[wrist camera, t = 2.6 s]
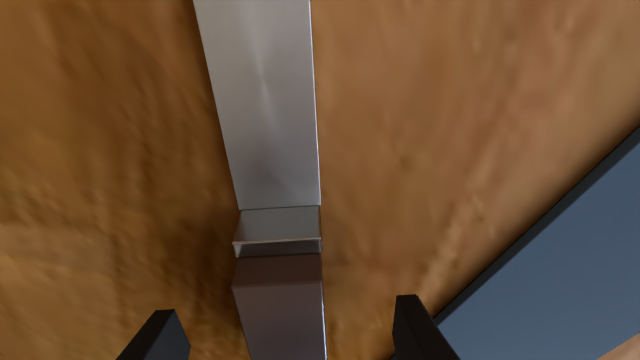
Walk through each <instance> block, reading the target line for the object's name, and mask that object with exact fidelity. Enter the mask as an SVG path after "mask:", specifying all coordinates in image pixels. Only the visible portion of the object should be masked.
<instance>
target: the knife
mask: <svg viewBox="0 0 640 360" xmlns="http://www.w3.org/2000/svg"><path fill="white" fill-rule="evenodd" d="M193 4H194V8H195V13H196V17H197V22H198V26H199V31H200V35H201V40H202V44H203V49H204V54H205V58H206V63H207V67H208V72H209V76H210V81H211V85H212V90H213V94H214V99H215V104H216V108H217V113H218V117H219V122H220V126H221V131H222V135H223V140H224V144H225V149H226V154H227V158H228V163H229V167H230V172H231V176H232V181H233V185H234V190H235V194H236V199H237V203H238V208H239V210H241V213H240V216H239V220H238V224H237V227H236V231H235V234H234V238H233V241H232V246H233V250H234V254H235V257H236V258H238V259H237V263H236V267H235V272H234V276H233V280H232V284H231V290H232V293H233V297H234V300H235V304H236V307H237V311H238V315H239V318H240V322H241V325H242V329H243V333H244V336H245V340H246V343H247V347H248V350H249V354H250V358H251V360H328V359H327V342H326V326H325V309H324V293H323V276H322V259H321V252H322V250H323V249H322V232H321V216H320V205H321V189H320V170H319V152H318V133H317V115H316V96H315V78H314V60H313V41H312V23H311V4H310V0H193Z"/></svg>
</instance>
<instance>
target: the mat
mask: <svg viewBox="0 0 640 360" xmlns="http://www.w3.org/2000/svg"><path fill="white" fill-rule="evenodd" d="M433 321H434V322H435V324H436V325H437V327H438V328H439V330H440V331H441V333H442V334H443V336H444V337H445V338H446V340H447V341H448V343H449V344H450V345H451V347H452V348H453V349H454V351H455V352H456V354H457V355H458V356H459V358H460V359H461V360H596V359H598V358H599V357H601V356H603V355H604V354H606V353H607V352H609V351H611V350H612V349H614V348H616V347H617V346H619V345H620V344H622V343H624V342H625V341H627V340H629V339H630V338H632V337H633V336H635V335H637V334H638V333H640V127H639V128H638V129H636V130H635V131H634V132H633V133H632V134H631V135H630V136H629V137H628V138H627V139H626V140H625V141H624V142H623V143H621V144H620V145H619V146H618V147H617V148H616V149H615V150H614V151H613V152H612V153H611V154H610V155H609V156H608V157H606V158H605V159H604V160H603V161H602V162H601V163H600V164H599V165H598V166H597V167H596V168H595V169H594V170H593V171H591V172H590V173H589V174H588V175H587V176H586V177H585V178H584V179H583V180H582V181H581V182H580V183H579V184H578V185H576V186H575V187H574V188H573V189H572V190H571V191H570V192H569V193H568V194H567V195H566V196H565V197H564V198H563V199H561V200H560V201H559V202H558V203H557V204H556V205H555V206H554V207H553V208H552V209H551V210H550V211H549V212H548V213H546V214H545V215H544V216H543V217H542V218H541V219H540V220H539V221H538V222H537V223H536V224H535V225H534V226H532V227H531V228H530V229H529V230H528V231H527V232H526V233H525V234H524V235H523V236H522V237H521V238H520V239H519V240H517V241H516V242H515V243H514V244H513V245H512V246H511V247H510V248H509V249H508V250H507V251H506V252H505V253H504V254H502V255H501V256H500V257H499V258H498V259H497V260H496V261H495V262H494V263H493V264H492V265H491V266H490V267H489V268H487V269H486V270H485V271H484V272H483V273H482V274H481V275H480V276H479V277H478V278H477V279H476V280H475V281H474V282H472V283H471V284H470V285H469V286H468V287H467V288H466V289H465V290H464V291H463V292H462V293H461V294H460V295H459V296H457V297H456V298H455V299H454V300H453V301H452V302H451V303H450V304H449V305H448V306H447V307H446V308H445V309H444V310H442V311H441V312H440V313H439V314H438V315H437V316H436V317H435V318H434V319H433ZM390 360H397V357H396V354H395V355H394V356H393V357H392V358H391V359H390Z"/></svg>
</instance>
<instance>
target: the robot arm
mask: <svg viewBox="0 0 640 360" xmlns="http://www.w3.org/2000/svg"><path fill="white" fill-rule="evenodd" d="M392 335H393V341H394V346H395V352H396V357H397V360H461V359H460V358H459V356H458V355H457V354H456V352H455V351H454V349H453V348H452V347H451V345H450V344H449V343H448V341H447V340H446V338H445V337H444V336H443V334H442V333H441V331H440V330H439V328H438V327H437V325H436V324H435V322H434V321H433V319H432V318H431V316H430V315H429V313H428V312H427V310H426V308H425V307H424V305H423V304H422V302H421V300H420V299H419V297H418V296H417V295H416V294H414V295H398V296H397V297H396V305H395V314H394V322H393V331H392ZM190 348H191V346H190V343H189V341H188V339H187V336H186V334H185V332H184V330H183V327H182V325H181V323H180V321H179V318H178V316H177V314H176V311H175V309H171V310H156V311H155V312H154V313H153V314H152V315H151V316H150V318H149V319H148V320H147V321H146V323H145V324H144V325H143V326H142V328H141V329H140V330H139V331H138V333H137V334H136V335H135V336H134V338H133V339H132V340H131V341H130V343H129V344H128V345H127V346H126V348H125V349H124V350H123V351H122V353H121V354H120V355H119V356H118V357H117V359H116V360H188V358H189V353H190Z"/></svg>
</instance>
